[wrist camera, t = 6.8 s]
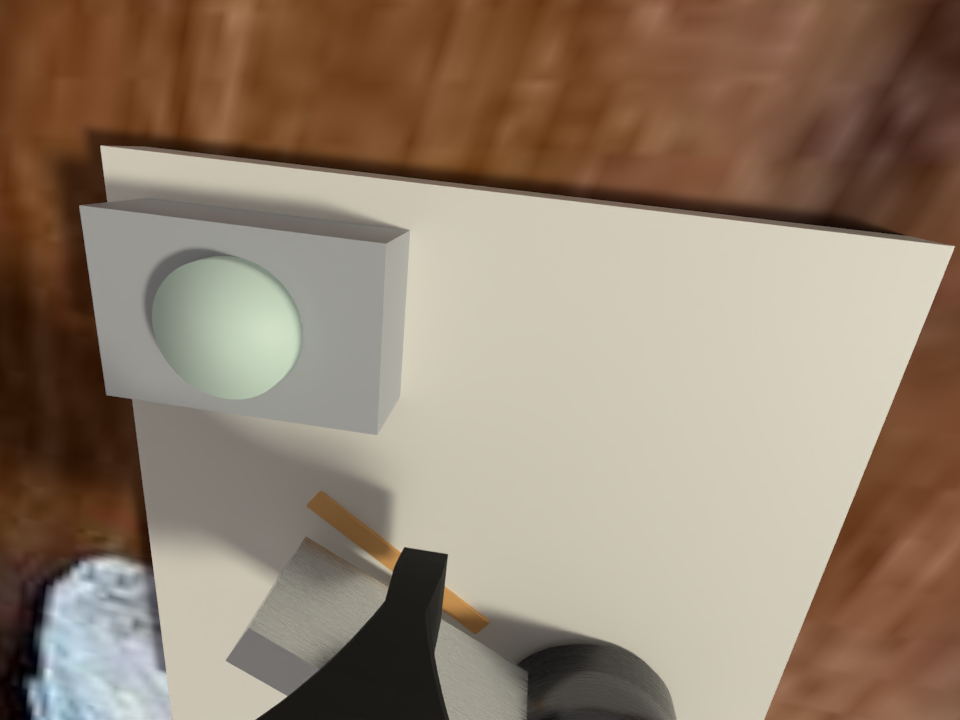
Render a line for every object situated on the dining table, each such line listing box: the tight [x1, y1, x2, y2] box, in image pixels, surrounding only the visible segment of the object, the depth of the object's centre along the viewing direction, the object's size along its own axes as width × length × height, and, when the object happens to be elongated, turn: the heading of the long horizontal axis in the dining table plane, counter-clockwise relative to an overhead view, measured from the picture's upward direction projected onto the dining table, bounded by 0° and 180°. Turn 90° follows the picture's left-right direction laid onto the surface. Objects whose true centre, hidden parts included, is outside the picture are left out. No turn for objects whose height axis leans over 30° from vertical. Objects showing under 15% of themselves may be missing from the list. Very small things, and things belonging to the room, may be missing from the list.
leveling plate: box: [79, 146, 955, 720], centre depth 14 cm, size 18×18×4 cm
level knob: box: [226, 537, 677, 720], centre depth 14 cm, size 12×5×4 cm, turn 56°
